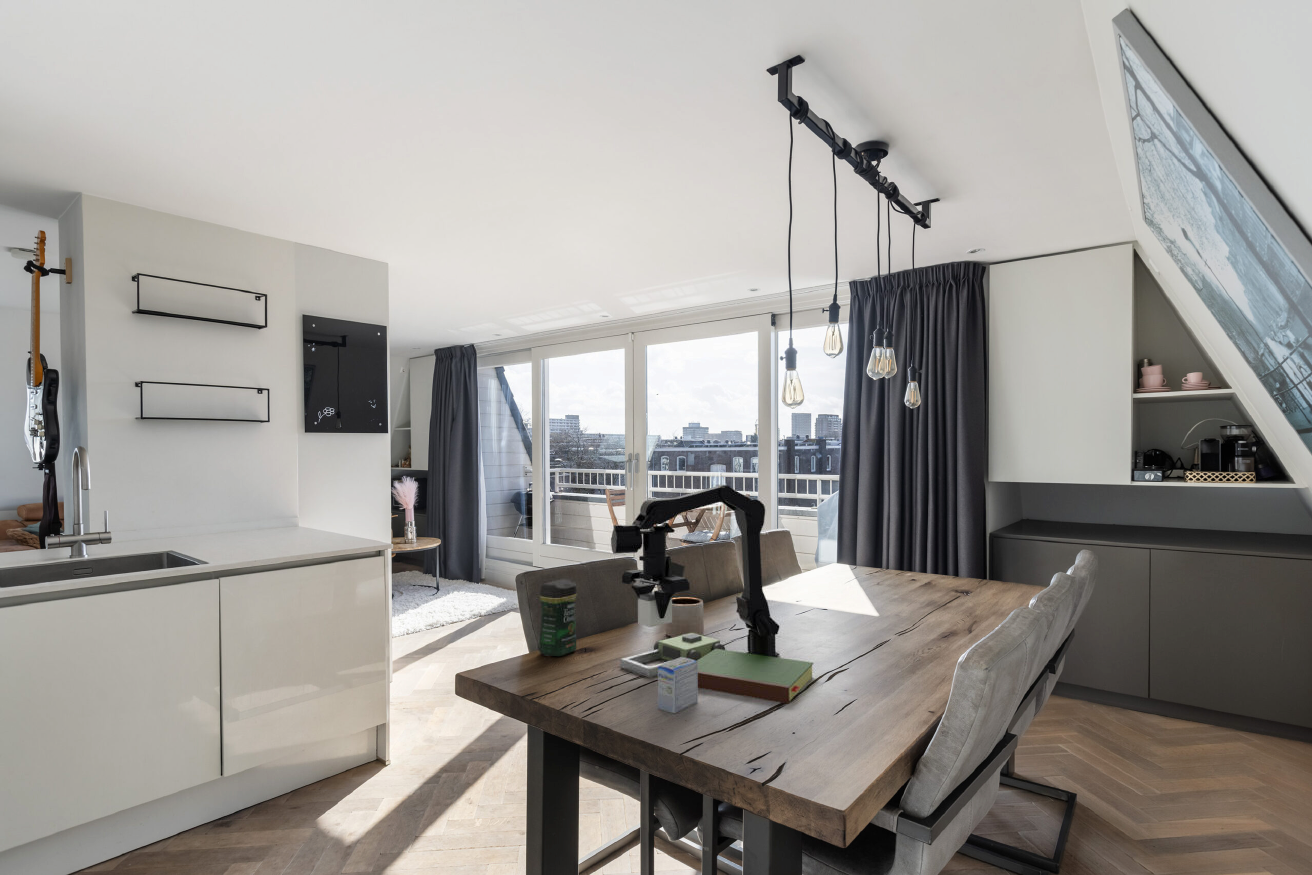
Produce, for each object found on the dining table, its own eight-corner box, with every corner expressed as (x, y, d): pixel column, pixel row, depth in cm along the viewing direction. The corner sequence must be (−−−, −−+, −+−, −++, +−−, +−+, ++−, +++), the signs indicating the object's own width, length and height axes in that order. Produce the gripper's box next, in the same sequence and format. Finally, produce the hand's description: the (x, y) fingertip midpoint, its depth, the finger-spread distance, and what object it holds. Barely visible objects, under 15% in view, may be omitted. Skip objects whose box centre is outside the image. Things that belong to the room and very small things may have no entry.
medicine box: (681, 697, 138) (680, 656, 139) (698, 702, 135) (698, 660, 136) (657, 709, 132) (657, 665, 132) (674, 714, 129) (674, 669, 130)
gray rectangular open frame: (686, 666, 159) (686, 658, 159) (649, 677, 151) (649, 668, 151) (657, 657, 167) (657, 649, 167) (620, 667, 159) (620, 658, 159)
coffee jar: (558, 659, 165) (558, 584, 166) (534, 654, 169) (534, 582, 170) (582, 649, 174) (582, 578, 174) (558, 645, 178) (558, 576, 178)
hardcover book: (682, 687, 146) (681, 670, 146) (715, 663, 163) (715, 648, 163) (792, 706, 134) (792, 688, 134) (816, 679, 151) (816, 663, 151)
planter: (660, 638, 184) (660, 603, 185) (671, 628, 195) (671, 596, 195) (698, 641, 181) (698, 605, 182) (707, 631, 192) (707, 598, 192)
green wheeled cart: (725, 657, 166) (725, 637, 166) (690, 668, 158) (689, 647, 158) (687, 646, 176) (687, 627, 176) (652, 656, 168) (652, 636, 168)
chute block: (672, 622, 160) (671, 593, 160) (650, 627, 156) (650, 597, 156) (659, 618, 164) (659, 590, 164) (638, 623, 159) (637, 594, 159)
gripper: (705, 552, 159) (706, 617, 158) (653, 545, 172) (654, 605, 172) (671, 556, 151) (672, 625, 151) (620, 549, 165) (621, 612, 164)
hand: (655, 616), depth 160 cm, fingers closed on chute block, 4 cm apart
